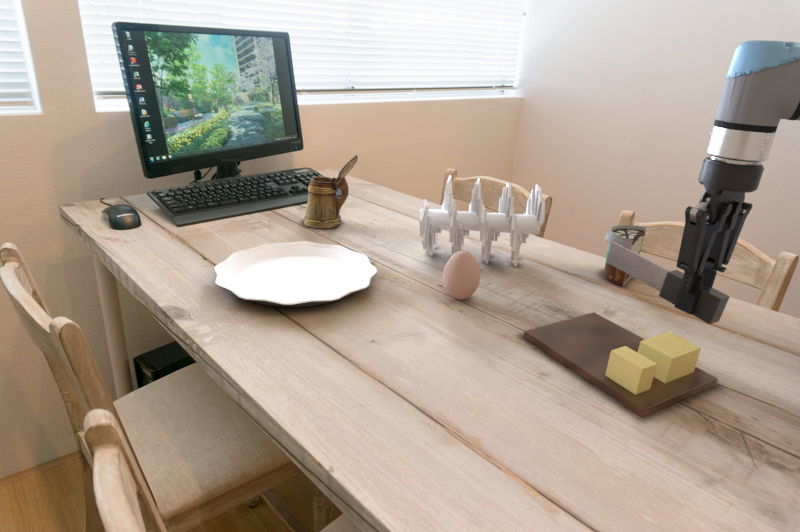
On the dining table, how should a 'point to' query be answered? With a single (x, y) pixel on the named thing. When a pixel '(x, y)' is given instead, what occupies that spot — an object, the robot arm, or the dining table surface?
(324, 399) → the dining table surface
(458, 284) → the egg
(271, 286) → the plate
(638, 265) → the knife
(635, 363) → the butter slice
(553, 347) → the cutting board
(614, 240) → the food container
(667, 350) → the butter bar
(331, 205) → the wooden mug
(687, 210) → the robot arm
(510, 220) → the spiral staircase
